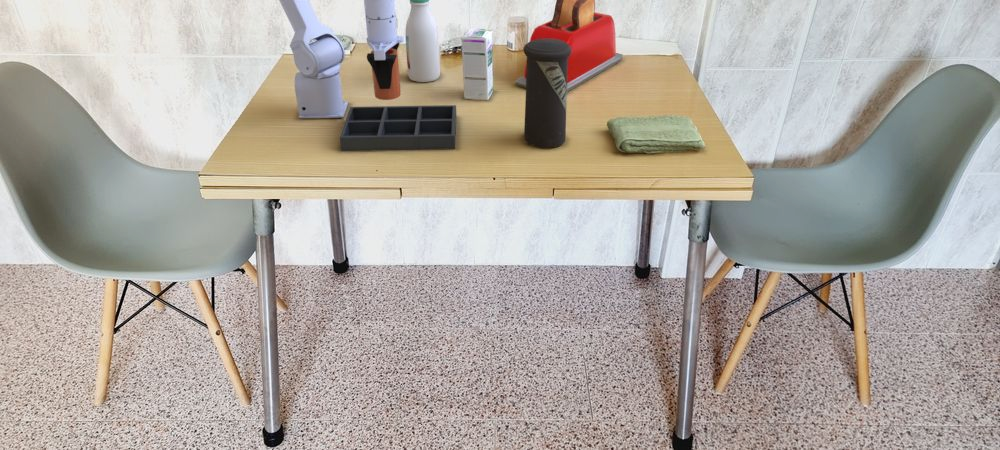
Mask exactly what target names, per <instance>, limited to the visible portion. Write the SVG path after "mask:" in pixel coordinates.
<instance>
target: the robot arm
mask: <svg viewBox="0 0 1000 450" xmlns="http://www.w3.org/2000/svg"><path fill="white" fill-rule="evenodd" d="M278 1H279V3H280V5H281V7H282V9H283V11H284V13H285V15H286V17H287V19H288V21H289V23H290V25H291V28H292V30H293V32H294V35H293V37H292V39H291V41H290V44H289V48H290V49H291V52H292V54H293V61H294V65H295V67H296V68H297V70H298V72H296V73H295V76H294V92H295V98H296V104H297V111H298V119H342V118H344V116H345V113H346V111H347V108H348V105H349V102H348V101H344V97H343V88H342V80H341V72H340V70H341V69H342V63H343V62H344V61H345V58H346V49H345V47H344V45H343V44H344V43H342V41H341V40H340V39H339V38H338V37H337V36H336V35H335V33H334V30H333V29H332V28H331V26H328V25H326V24H324V23H322V22H321V21H320V20H319V18H318V16H317V14H316V11H315V9H314V7H313V5H312V3H311V1H310V0H278ZM363 6H364V16H365V24H366V36H367V38H366V43H367V45H368V46H369V48H370V49H371V51H374V53H371V52H370V53H367V54H366V60H367V62H368V64H369V65H370V66H371V69H372V68H373V70H374V73H375V76H376V79H377V82H378V85H379V88H380V89H390V87H391V82H392V69H393V65H394V62H395V60H396V57H397V55H388V53H387V54H386V51H387V50H389V49H390V48H393V49H396V50H397V51H398V49H399V46H400V44H402V43H404V36H402V35H398V29H397V17H396V3H395V0H363ZM313 40H314V41H313ZM311 41H313V42H311Z"/></svg>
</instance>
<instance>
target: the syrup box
mask: <svg viewBox="0 0 1000 450" xmlns="http://www.w3.org/2000/svg"><path fill="white" fill-rule="evenodd" d="M493 51H494V50H493V30H492V29H485V28H468V29H467V30H466V31H465V32H464V34H463V35H462V36H461V55H462V57H461V59H462V81H463V98H464V99H466V100H475V101H489V99H490V98H491V96H492V94H493V92H494V53H493Z"/></svg>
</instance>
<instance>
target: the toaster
mask: <svg viewBox="0 0 1000 450" xmlns="http://www.w3.org/2000/svg"><path fill="white" fill-rule="evenodd" d="M595 10H596V1H595V0H556V1H555V6H554V12H553V16H552V19H551V20H549V21H547V22H545V23H543V24H540V25H538V26H536V27H535V28H534V30H533V32H532V34H531V36H530V38H529V42H530V41H533V40H537V39H558V40H562V41H564V42H566V43H567V44H568V45H570V47H571V50H572V52H571V54H570V56H569V57H568V72H567V93H568V92H570V91H572V90H573V89H576V88H577V87H579V86H580V85H582V84H584V83H585V82H588V81H589V80H591V79H592V78H594V77H596V76H598V75H600V74H601V73H603V72H604V71H606V70H608V69H609V68H612V67H613V66H615V65H617V64H619V62H621V61H622V60H623V56H624V54H623V53H618V52H617V45H616V43H617V41H616V27H615V21H614V18H613V17H612V15H610V14H606V13H600V12H595ZM524 67H525V68H524V69H525V70H524V74H523V76H521V77H519V78H517V79H516V80H515V85H516V87H519V88H522V89H526V70H527V60H526V62H525V66H524Z"/></svg>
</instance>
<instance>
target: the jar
mask: <svg viewBox="0 0 1000 450" xmlns="http://www.w3.org/2000/svg"><path fill="white" fill-rule="evenodd" d="M370 53H374V51H373V50H371V51H370ZM387 53H388V55H397V57H396V60H395V62H394V65H393V69H392V82H391V87H390V89H380V88H379V85H378V82H377V79H376V76H375V73H374V70H373V68H372V67H371V74H372V82H373V92H374V97H375V99H377V100H381V101H392V100H395V99H398V98H400V97H401V95H402V94H401V93H402V92H401V79H400V67H399V66H400V65H399V55H398V53H399V52H398V49H397V50H396V49H393V48H390V49H389V50H387V51H386V54H387Z"/></svg>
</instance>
